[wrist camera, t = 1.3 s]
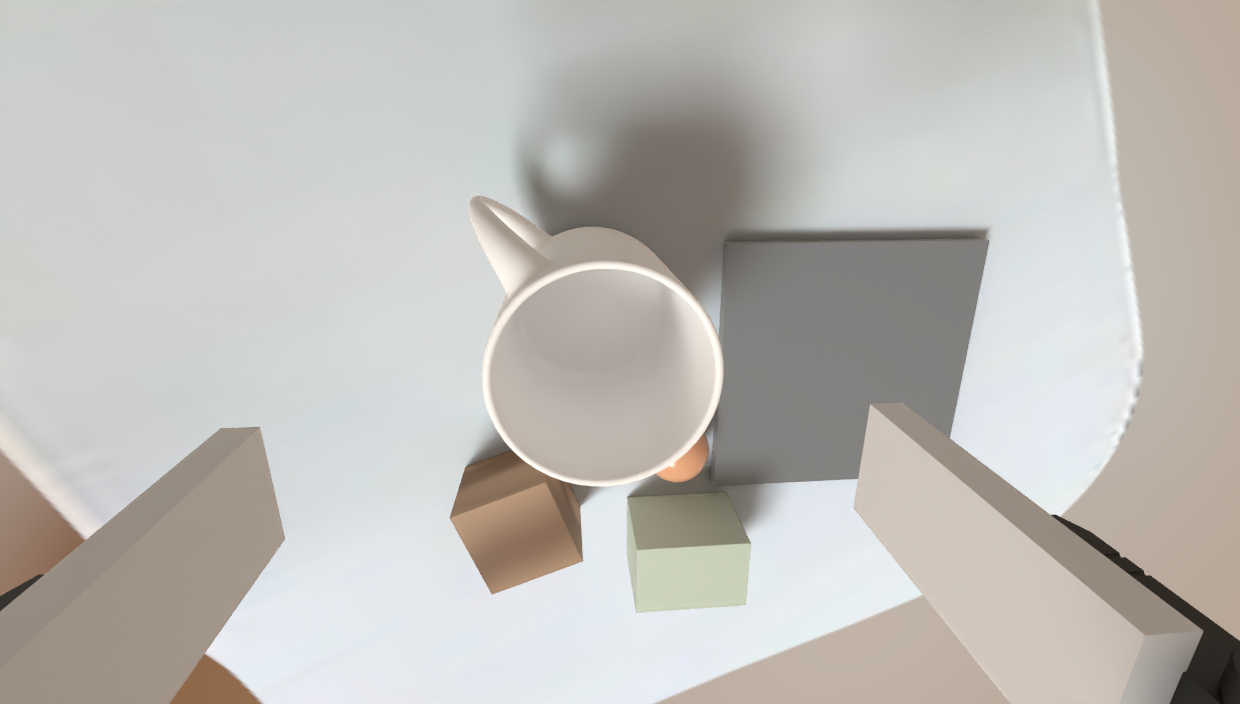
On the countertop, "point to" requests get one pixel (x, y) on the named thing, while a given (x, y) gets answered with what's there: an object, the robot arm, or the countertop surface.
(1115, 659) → the robot arm
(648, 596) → the sage block
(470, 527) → the walnut block
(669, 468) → the terracotta ball
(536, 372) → the mug
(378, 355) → the countertop surface
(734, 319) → the plate
